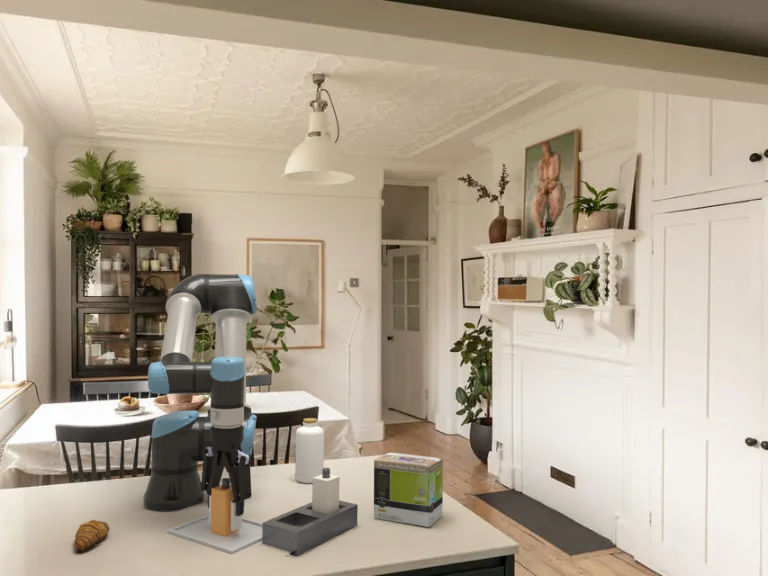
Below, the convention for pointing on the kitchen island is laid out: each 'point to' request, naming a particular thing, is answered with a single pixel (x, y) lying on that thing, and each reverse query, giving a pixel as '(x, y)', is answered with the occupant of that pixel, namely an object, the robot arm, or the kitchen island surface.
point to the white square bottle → (325, 492)
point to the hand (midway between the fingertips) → (225, 525)
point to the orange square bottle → (222, 509)
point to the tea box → (408, 488)
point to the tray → (231, 544)
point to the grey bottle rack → (308, 527)
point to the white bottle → (309, 451)
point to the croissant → (90, 535)
